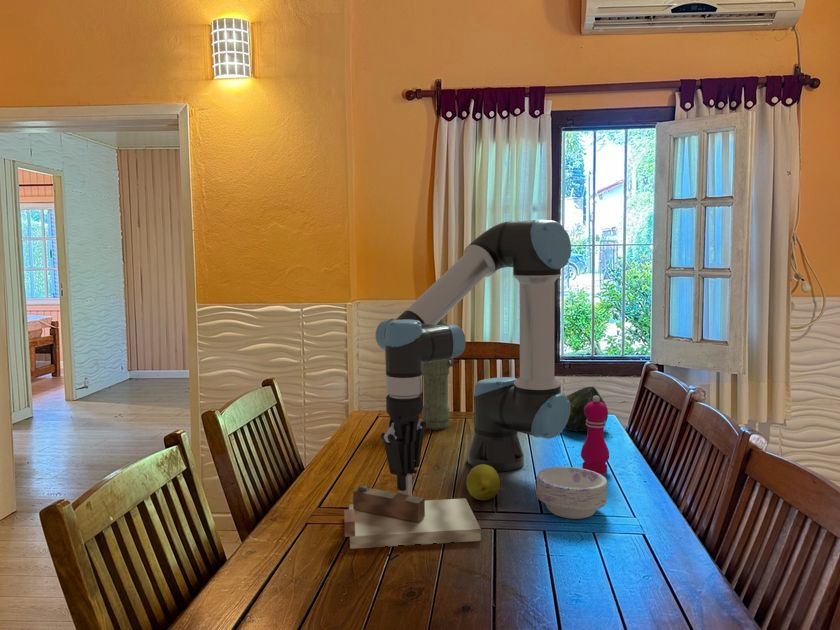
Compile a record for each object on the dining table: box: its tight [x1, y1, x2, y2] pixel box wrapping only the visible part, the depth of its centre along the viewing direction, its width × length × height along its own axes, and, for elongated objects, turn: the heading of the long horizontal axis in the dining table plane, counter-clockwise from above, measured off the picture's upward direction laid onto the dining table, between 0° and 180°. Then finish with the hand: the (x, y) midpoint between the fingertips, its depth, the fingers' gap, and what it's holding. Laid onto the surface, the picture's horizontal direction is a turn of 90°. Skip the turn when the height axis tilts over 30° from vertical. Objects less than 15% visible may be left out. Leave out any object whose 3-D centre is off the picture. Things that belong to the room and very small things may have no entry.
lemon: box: [465, 464, 501, 501], centre depth 152 cm, size 11×8×8 cm
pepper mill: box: [580, 396, 610, 476], centre depth 171 cm, size 7×7×20 cm
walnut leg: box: [352, 485, 425, 522], centre depth 138 cm, size 16×3×5 cm, turn 64°
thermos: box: [421, 318, 455, 431], centre depth 213 cm, size 9×12×35 cm
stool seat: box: [343, 497, 482, 550], centre depth 138 cm, size 27×16×6 cm, turn 97°
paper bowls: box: [536, 466, 608, 520], centre depth 146 cm, size 15×15×8 cm
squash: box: [564, 386, 609, 432], centre depth 208 cm, size 14×15×15 cm
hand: (405, 503), depth 139 cm, fingers closed
